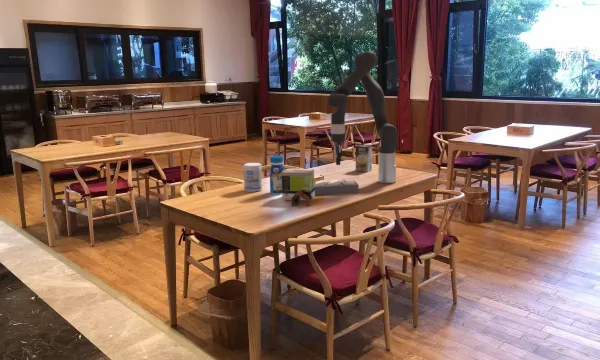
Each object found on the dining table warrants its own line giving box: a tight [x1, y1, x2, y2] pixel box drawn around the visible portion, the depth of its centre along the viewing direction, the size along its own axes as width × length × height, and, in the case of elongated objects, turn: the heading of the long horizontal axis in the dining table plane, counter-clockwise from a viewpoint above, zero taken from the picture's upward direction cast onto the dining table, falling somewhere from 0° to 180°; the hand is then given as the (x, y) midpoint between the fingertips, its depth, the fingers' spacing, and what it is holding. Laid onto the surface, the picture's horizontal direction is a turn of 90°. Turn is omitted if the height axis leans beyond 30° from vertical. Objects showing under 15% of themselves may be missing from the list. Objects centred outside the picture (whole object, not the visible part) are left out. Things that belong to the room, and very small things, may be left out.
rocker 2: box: [326, 179, 341, 185], centre depth 268 cm, size 6×4×2 cm
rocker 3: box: [341, 178, 355, 185], centre depth 269 cm, size 6×4×2 cm
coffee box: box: [355, 144, 373, 173], centre depth 319 cm, size 9×6×16 cm
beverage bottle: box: [268, 154, 286, 195], centre depth 268 cm, size 8×8×20 cm
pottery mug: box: [290, 190, 313, 207], centre depth 245 cm, size 12×9×8 cm
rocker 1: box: [314, 179, 326, 186], centre depth 268 cm, size 6×4×2 cm
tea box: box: [281, 168, 316, 202], centre depth 257 cm, size 15×10×15 cm, turn 74°
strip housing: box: [315, 180, 360, 196], centre depth 269 cm, size 25×9×4 cm, turn 96°
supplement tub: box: [243, 162, 263, 193], centre depth 275 cm, size 10×10×15 cm
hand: (338, 164), depth 266 cm, fingers closed
